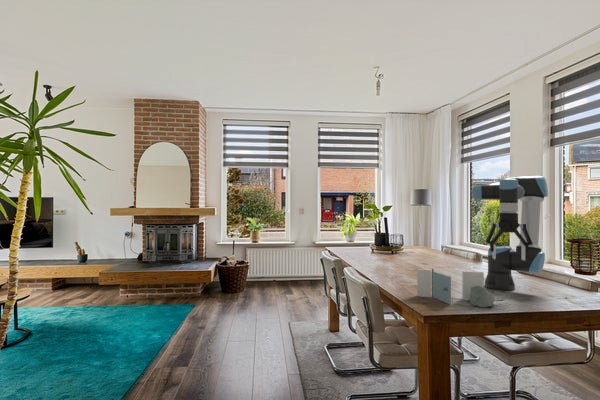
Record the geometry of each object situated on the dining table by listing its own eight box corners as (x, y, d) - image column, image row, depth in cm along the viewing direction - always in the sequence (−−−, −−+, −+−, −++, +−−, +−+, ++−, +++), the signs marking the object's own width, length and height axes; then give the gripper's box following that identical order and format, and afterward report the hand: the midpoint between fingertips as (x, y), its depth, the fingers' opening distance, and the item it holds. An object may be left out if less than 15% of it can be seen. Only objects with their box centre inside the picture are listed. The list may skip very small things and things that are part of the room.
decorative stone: (479, 310, 157) (493, 292, 156) (460, 295, 166) (473, 279, 165) (490, 318, 164) (503, 302, 163) (471, 304, 173) (483, 289, 173)
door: (430, 297, 177) (430, 271, 177) (434, 296, 177) (434, 271, 177) (445, 304, 165) (445, 276, 165) (450, 303, 165) (450, 276, 165)
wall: (483, 300, 172) (483, 271, 172) (483, 301, 171) (483, 271, 171) (417, 295, 181) (417, 267, 181) (417, 296, 180) (417, 268, 180)
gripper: (534, 212, 162) (534, 259, 162) (478, 211, 168) (478, 256, 168) (541, 212, 155) (541, 261, 155) (482, 212, 161) (482, 259, 161)
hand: (508, 259), depth 161 cm, fingers open, 11 cm apart
